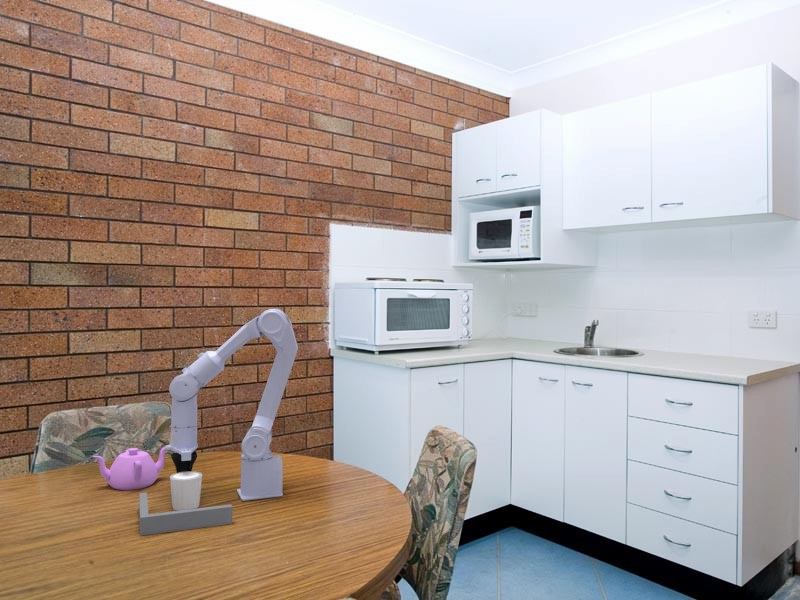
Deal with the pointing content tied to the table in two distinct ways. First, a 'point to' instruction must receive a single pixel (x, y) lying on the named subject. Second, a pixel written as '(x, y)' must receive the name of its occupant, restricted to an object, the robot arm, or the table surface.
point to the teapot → (132, 469)
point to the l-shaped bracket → (181, 518)
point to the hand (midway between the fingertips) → (183, 484)
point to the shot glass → (185, 490)
